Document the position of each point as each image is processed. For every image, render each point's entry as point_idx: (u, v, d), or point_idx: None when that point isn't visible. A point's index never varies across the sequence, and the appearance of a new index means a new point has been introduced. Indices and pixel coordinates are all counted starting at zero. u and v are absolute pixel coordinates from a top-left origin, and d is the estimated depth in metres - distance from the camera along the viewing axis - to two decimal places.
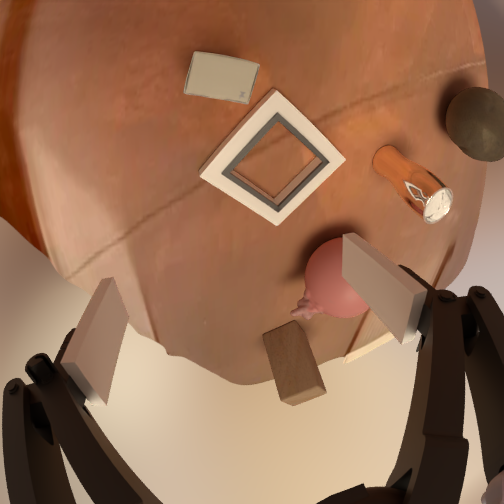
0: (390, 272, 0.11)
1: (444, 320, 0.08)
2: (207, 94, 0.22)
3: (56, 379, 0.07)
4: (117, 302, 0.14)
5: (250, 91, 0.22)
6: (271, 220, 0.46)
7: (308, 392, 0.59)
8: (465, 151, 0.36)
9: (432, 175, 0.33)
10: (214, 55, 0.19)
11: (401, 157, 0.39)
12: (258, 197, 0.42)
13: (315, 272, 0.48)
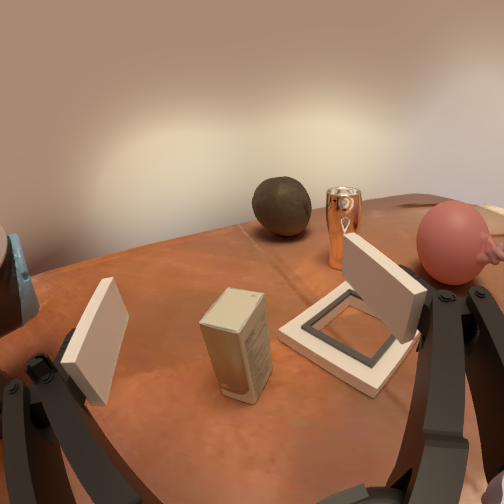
0: (390, 272, 0.11)
1: (444, 320, 0.08)
2: (246, 316, 0.25)
3: (56, 379, 0.07)
4: (117, 302, 0.14)
5: (252, 291, 0.28)
6: None
7: None
8: (307, 207, 0.64)
9: (326, 207, 0.51)
10: (209, 311, 0.26)
11: (330, 244, 0.53)
12: None
13: (456, 259, 0.35)
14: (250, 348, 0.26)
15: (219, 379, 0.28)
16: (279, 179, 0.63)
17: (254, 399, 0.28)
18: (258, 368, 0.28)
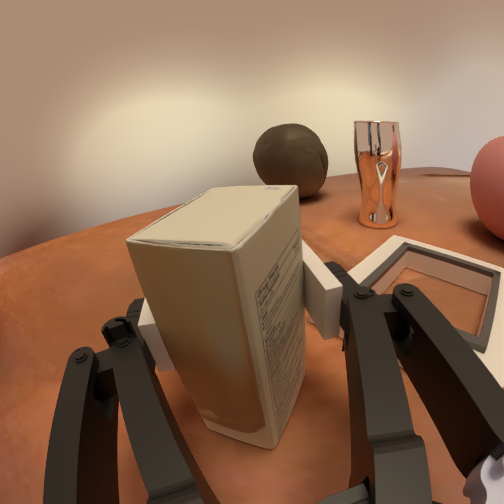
0: (311, 268, 0.12)
1: (365, 318, 0.09)
2: (258, 215, 0.08)
3: (133, 344, 0.09)
4: None
5: (268, 186, 0.12)
6: None
7: None
8: (324, 159, 0.48)
9: (354, 142, 0.34)
10: (160, 220, 0.10)
11: (362, 195, 0.37)
12: (495, 294, 0.16)
13: None
14: (271, 320, 0.09)
15: (195, 401, 0.12)
16: (287, 124, 0.47)
17: (274, 440, 0.12)
18: (286, 374, 0.12)
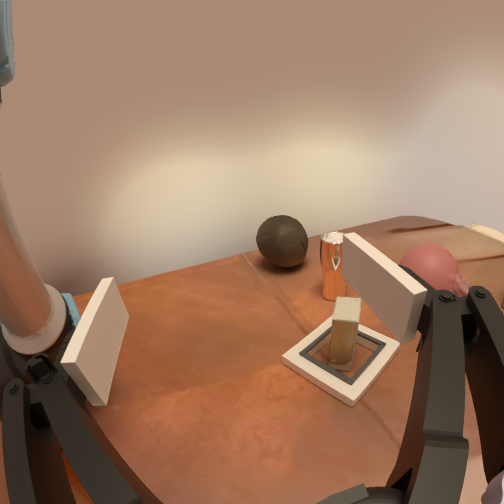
0: (390, 272, 0.11)
1: (444, 320, 0.08)
2: (358, 312, 0.40)
3: (56, 379, 0.07)
4: (117, 302, 0.14)
5: (353, 298, 0.44)
6: (395, 347, 0.44)
7: None
8: (304, 244, 0.75)
9: (320, 251, 0.61)
10: (334, 312, 0.42)
11: None
12: (373, 358, 0.43)
13: None
14: (357, 332, 0.41)
15: (331, 356, 0.44)
16: (280, 220, 0.74)
17: None
18: None
